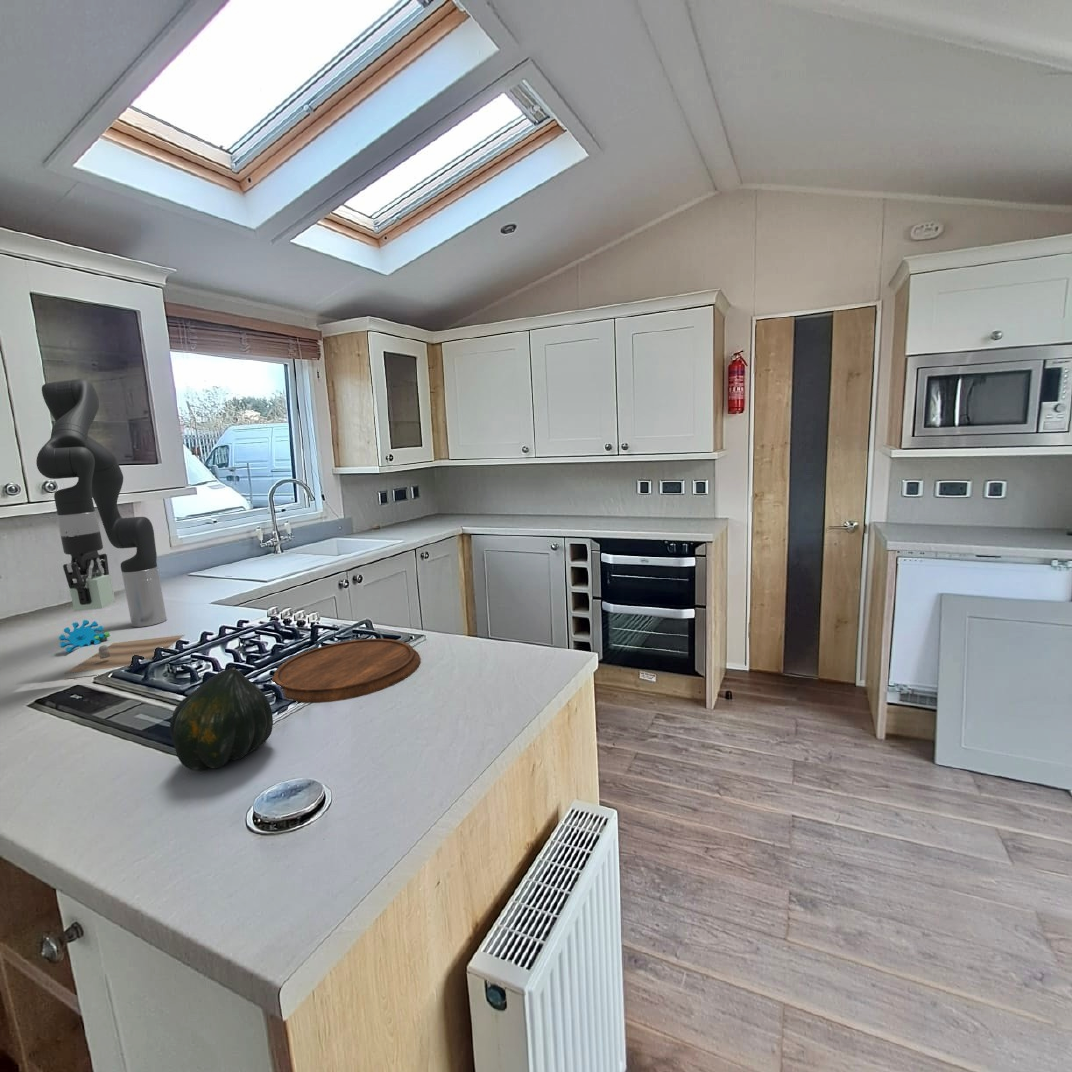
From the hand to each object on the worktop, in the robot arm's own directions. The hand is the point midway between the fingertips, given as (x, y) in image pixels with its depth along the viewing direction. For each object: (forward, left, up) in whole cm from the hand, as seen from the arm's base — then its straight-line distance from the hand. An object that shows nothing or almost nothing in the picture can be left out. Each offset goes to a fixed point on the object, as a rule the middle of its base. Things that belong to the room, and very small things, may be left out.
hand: (93, 600), depth 142 cm
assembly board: (-5, +3, -17) cm, 18 cm away
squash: (+57, +46, -17) cm, 75 cm away
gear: (-19, -14, -17) cm, 29 cm away
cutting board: (+25, +61, -18) cm, 68 cm away
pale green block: (0, 0, -2) cm, 2 cm away
